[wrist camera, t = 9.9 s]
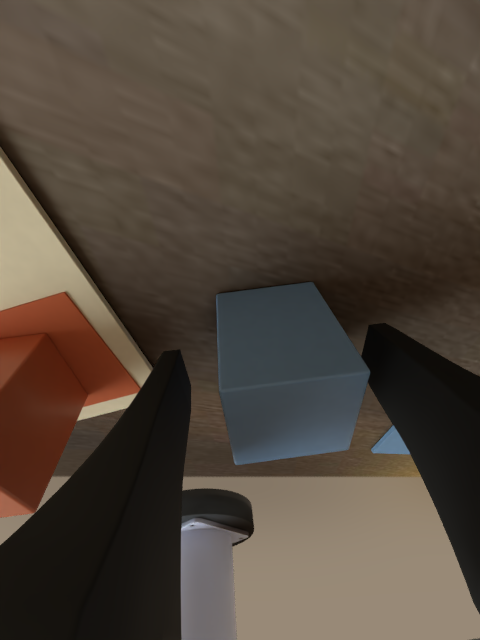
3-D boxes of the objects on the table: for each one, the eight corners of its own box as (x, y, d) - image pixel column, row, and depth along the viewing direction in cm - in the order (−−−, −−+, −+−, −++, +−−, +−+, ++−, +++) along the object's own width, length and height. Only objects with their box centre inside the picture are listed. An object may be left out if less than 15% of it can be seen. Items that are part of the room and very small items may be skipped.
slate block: (313, 280, 11) (372, 371, 7) (307, 352, 13) (349, 450, 9) (215, 293, 11) (218, 392, 7) (227, 362, 13) (235, 466, 9)
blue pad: (370, 449, 20) (372, 453, 20) (439, 374, 15) (443, 378, 15) (458, 452, 21) (461, 456, 21) (544, 385, 17) (549, 389, 17)
